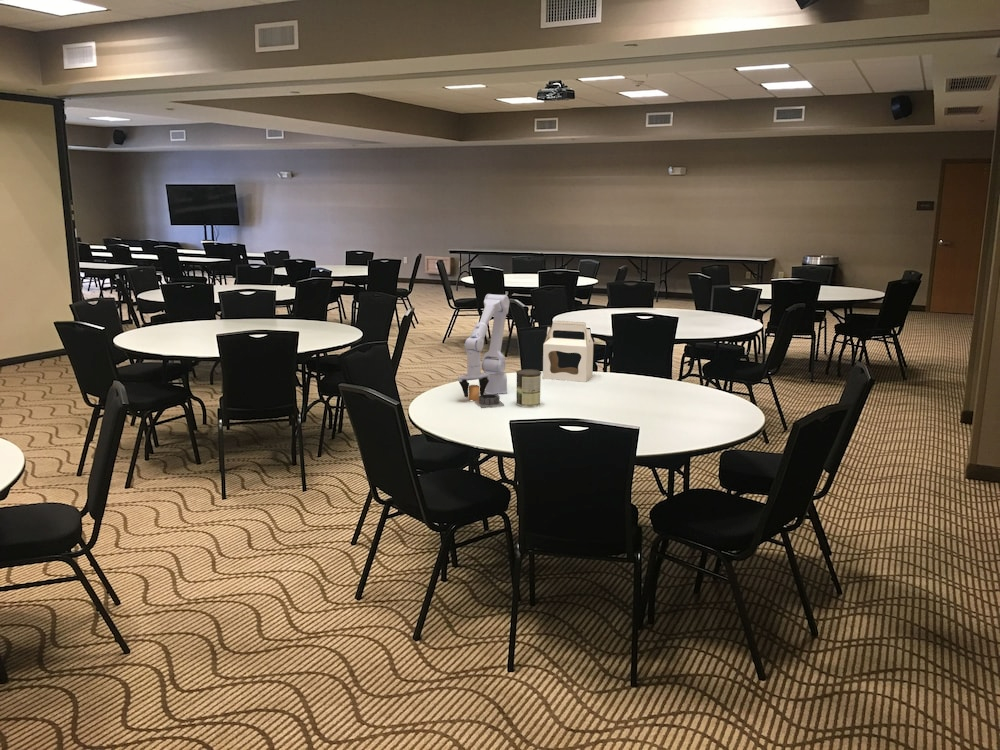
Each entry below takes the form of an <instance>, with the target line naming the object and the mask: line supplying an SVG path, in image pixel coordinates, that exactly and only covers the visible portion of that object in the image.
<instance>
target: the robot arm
mask: <svg viewBox="0 0 1000 750" xmlns="http://www.w3.org/2000/svg"><path fill="white" fill-rule="evenodd" d="M483 305H484V308H483V311H482V314H481V317H480V320H479V322H477V323H475V325H474V328H473V330H472V332H471V334H470V336H469V337H468V338H466V339H465V342H464V345H463V346H464V349H465V354H466V355H467V356H466V357H467V359H466V362H467V364H466V366H467V368H466V369H467V370H466V373H467V374H465V375H460V376H457V382H458V383H459V385H460V387H461V388H462V392H463V396H464V397H465V398H468V399H469V386H470V382H468V381H474V380H475V381H476V380H478V384H479V396H480V395H484V394H495V395H499V393H503V394H508V377H507V374H506V372H504V371H505V370H506V368H507V367H506V365H507V364H506V356H505V355H504V354H503V353H502V352H501V351H502V345H503V338H504V332H505V331H504V330H505V324H506V318H507V315H508V314H509V308H510V299H509V297H508V295H507V294H492V293H487V294H486V295H485V297H484V300H483ZM492 317H493V323H492V328H491V329H492V331H491V334H490V335H491V336H490V343H489V349H488V351H487V352H485V353H484V354H483V357H482V360H481V352H482V350H483V349H484V343H485V337H486V335H487V332H488V330H489V328H488V324H489V322H490V321H491V319H492ZM481 369H482V370H481ZM481 371H483V373H481ZM497 393H498V394H497Z"/></svg>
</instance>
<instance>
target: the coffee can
mask: <svg viewBox="0 0 1000 750" xmlns="http://www.w3.org/2000/svg"><path fill="white" fill-rule="evenodd" d="M541 374H542V372H541V371H540V370H537V369H532V368H530V369H519V370H517V371H516V403H515V405H516V406H518V405H519V407H522V406H526V407H525V408H534V407H533V406H536V407H538V405H539V406H540V405H541Z"/></svg>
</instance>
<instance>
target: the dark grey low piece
mask: <svg viewBox="0 0 1000 750" xmlns="http://www.w3.org/2000/svg"><path fill="white" fill-rule="evenodd" d="M500 399H501V397H500V395H499V394H486V393H484V395H480V394H479V400H475V401H474V404H476V405H477V406H478V407H479V406H480V407H481V409H485V408H486V407H490V408H498V407H497V406H504V407H505V404H504V402H502V401H501V400H500ZM486 409H487V408H486Z"/></svg>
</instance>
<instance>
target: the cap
mask: <svg viewBox="0 0 1000 750" xmlns="http://www.w3.org/2000/svg"><path fill="white" fill-rule="evenodd" d="M479 396H480V385H478V384H469V387H468V401H470V400H473V401H472V402H475V400H479Z"/></svg>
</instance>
